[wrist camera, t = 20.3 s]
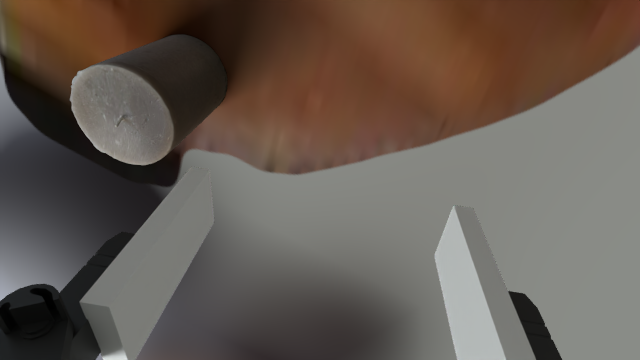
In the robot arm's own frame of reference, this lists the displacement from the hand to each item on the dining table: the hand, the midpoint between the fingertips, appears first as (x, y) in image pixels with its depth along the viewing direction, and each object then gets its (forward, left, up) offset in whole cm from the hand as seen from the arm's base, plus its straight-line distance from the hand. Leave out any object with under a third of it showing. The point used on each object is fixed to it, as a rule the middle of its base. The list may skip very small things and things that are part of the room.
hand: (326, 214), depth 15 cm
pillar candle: (-7, -19, -30) cm, 36 cm away
